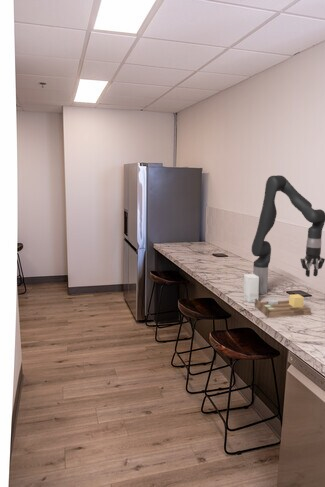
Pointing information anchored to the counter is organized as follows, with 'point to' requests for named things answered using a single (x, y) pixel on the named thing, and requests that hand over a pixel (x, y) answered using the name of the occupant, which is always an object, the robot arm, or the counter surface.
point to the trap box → (281, 309)
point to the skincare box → (251, 287)
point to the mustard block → (296, 300)
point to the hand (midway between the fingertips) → (311, 276)
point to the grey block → (272, 302)
